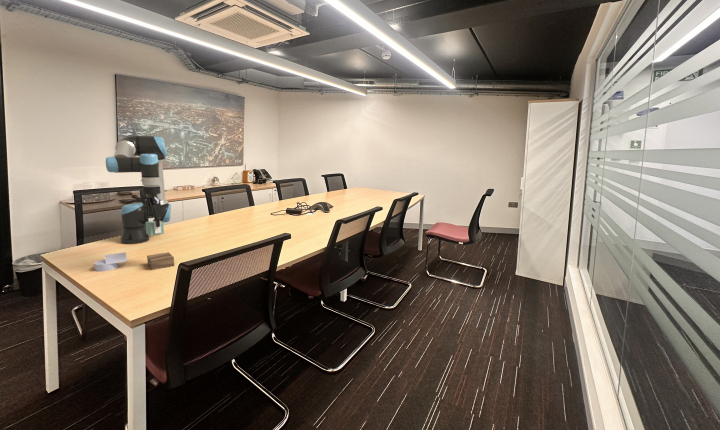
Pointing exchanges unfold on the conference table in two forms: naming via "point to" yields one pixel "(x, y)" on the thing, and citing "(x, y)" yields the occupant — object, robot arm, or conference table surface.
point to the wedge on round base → (110, 262)
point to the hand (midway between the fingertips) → (155, 231)
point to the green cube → (150, 228)
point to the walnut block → (160, 260)
